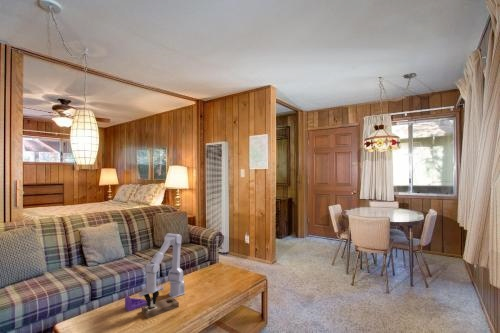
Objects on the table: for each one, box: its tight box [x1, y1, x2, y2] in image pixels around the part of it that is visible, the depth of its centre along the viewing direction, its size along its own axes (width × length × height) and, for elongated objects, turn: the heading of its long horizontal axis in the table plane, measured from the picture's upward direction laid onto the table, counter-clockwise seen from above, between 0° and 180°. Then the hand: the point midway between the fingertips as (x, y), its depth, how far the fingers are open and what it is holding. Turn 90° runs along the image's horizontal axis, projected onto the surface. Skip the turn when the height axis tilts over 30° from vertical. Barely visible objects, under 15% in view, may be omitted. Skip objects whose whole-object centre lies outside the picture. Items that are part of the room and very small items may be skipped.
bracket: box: [124, 295, 147, 312], centre depth 168 cm, size 12×7×7 cm, turn 132°
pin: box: [150, 296, 154, 309], centre depth 161 cm, size 3×3×8 cm
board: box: [141, 296, 180, 320], centre depth 165 cm, size 20×10×3 cm, turn 132°
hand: (151, 304), depth 161 cm, fingers closed on pin, 3 cm apart
